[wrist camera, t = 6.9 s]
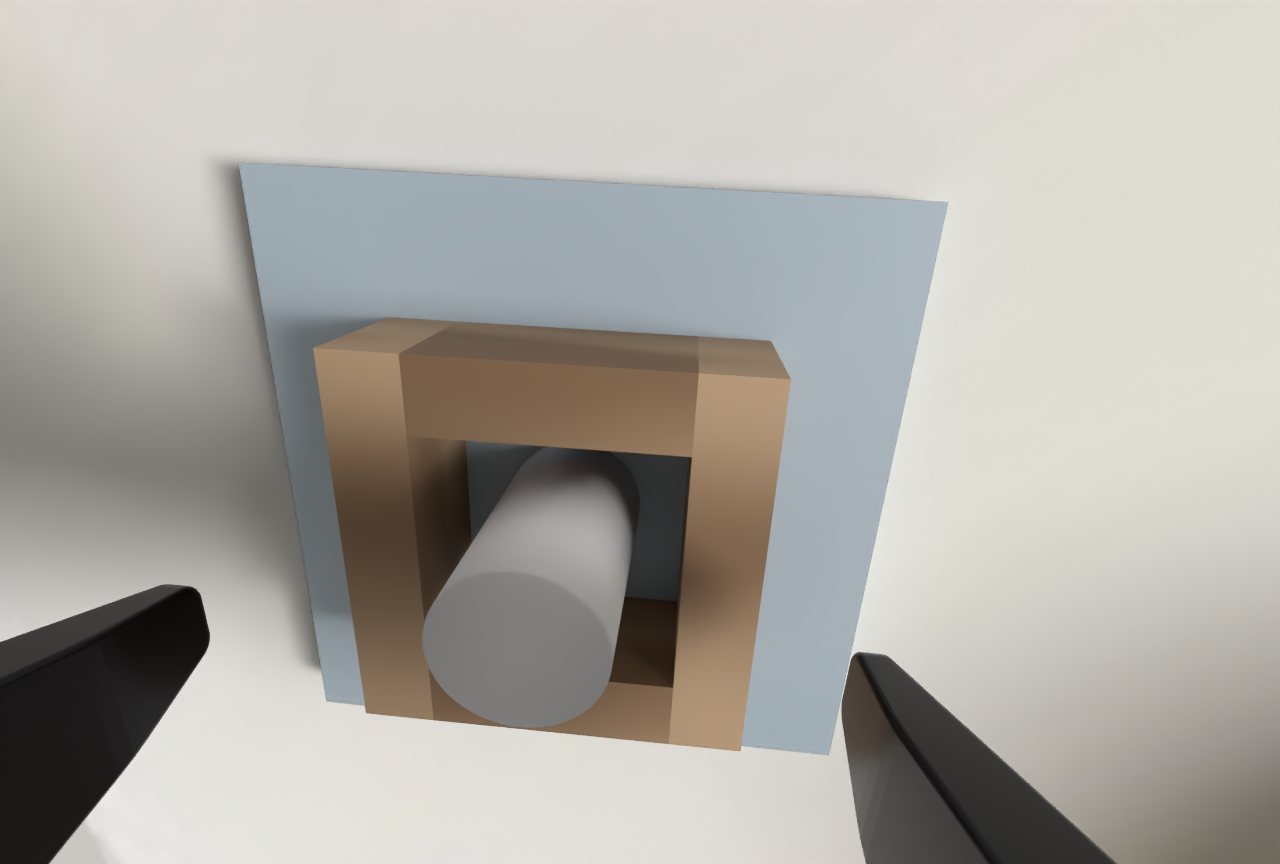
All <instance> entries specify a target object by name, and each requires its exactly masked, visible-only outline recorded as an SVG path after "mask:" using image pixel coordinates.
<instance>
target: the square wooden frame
mask: <svg viewBox="0 0 1280 864" xmlns="http://www.w3.org/2000/svg"><path fill="white" fill-rule="evenodd" d="M313 351H314V358H315V365H316V371H317V378H318V385H319V392H320V399H321V406H322V413H323V420H324V427H325V433H326V440H327V447H328V454H329V461H330V468H331V475H332V482H333V489H334V495H335V502H336V509H337V516H338V523H339V530H340V537H341V544H342V551H343V557H344V564H345V571H346V578H347V585H348V592H349V599H350V606H351V613H352V619H353V626H354V633H355V640H356V647H357V654H358V661H359V668H360V675H361V681H362V688H363V695H364V702H365V709H366V713H370V714H379V715H389V716H399V717H409V718H419V719H429V720H438V721H448V722H458V723H468V724H478V725H488V726H497V727H507V728H517V729H527V730H537V731H547V732H556V733H566V734H576V735H586V736H596V737H606V738H615V739H625V740H635V741H645V742H655V743H665V744H674V745H684V746H694V747H704V748H714V749H723V750H733V751H740V750H741V742H742V735H743V728H744V721H745V713H746V706H747V699H748V691H749V684H750V677H751V669H752V662H753V655H754V647H755V640H756V633H757V625H758V618H759V611H760V603H761V596H762V589H763V581H764V574H765V567H766V560H767V552H768V545H769V538H770V530H771V523H772V516H773V508H774V501H775V494H776V486H777V479H778V472H779V464H780V457H781V450H782V442H783V435H784V428H785V421H786V413H787V406H788V399H789V391H790V384H791V378H790V376H789V374H788V372H787V371H786V369H785V367H784V365H783V363H782V361H781V359H780V357H779V355H778V353H777V351H776V349H775V348H774V346H773V344H772V342H771V341H765V340H749V339H733V338H717V337H701V336H684V335H668V334H652V333H636V332H620V331H604V330H588V329H571V328H555V327H539V326H523V325H507V324H491V323H474V322H458V321H442V320H426V319H410V318H394V317H389V318H387V319H384V320H382V321H379V322H377V323H374V324H372V325H369V326H367V327H364V328H362V329H359V330H357V331H355V332H352V333H350V334H347V335H345V336H342V337H340V338H337V339H335V340H332V341H330V342H327V343H325V344H322V345H320V346H317V347H315V348H313ZM466 441H479V442H493V443H506V444H520V445H534V446H547V447H561V448H574V449H588V450H601V451H615V452H629V453H642V454H656V455H669V456H683V457H688V470H687V482H686V495H685V508H684V520H683V533H682V546H681V558H680V571H679V583H678V596H677V601H667V600H656V599H644V598H633V597H624V602H623V608H622V613H621V619H620V625H619V630H618V636H617V642H616V647H615V653H614V659H613V664H612V670H611V675H610V678H609V681H608V684H607V686H606V688H605V690H604V692H603V693H602V695H601V696H600V698H599V699H598V700H597V701H596V702H595V703H594V704H593V705H592V706H591V707H590V708H589V709H588V710H586V711H585V712H584V713H582V714H581V715H579V716H577V717H575V718H574V719H571V720H569V721H566V722H564V723H560V724H557V725H553V726H547V727H538V728H523V727H514V726H507V725H503V724H499V723H496V722H493V721H490V720H487V719H484V718H482V717H480V716H478V715H476V714H474V713H472V712H470V711H469V710H467V709H466V708H464V707H462V706H461V705H460V704H458V703H457V702H456V701H455V700H453V699H452V698H451V697H450V696H449V695H448V694H447V693H446V692H445V691H444V690H443V689H442V687H441V686H440V685H439V684H438V682H437V681H436V679H435V678H434V676H433V675H432V673H431V671H430V669H429V667H428V665H427V662H426V659H425V655H424V650H423V644H422V633H423V627H424V622H425V619H426V616H427V614H428V612H429V610H430V608H431V606H432V604H433V603H434V601H435V600H436V598H437V597H438V595H439V594H440V592H441V590H442V589H443V587H444V586H445V584H446V583H447V581H448V579H449V578H450V576H451V575H452V573H453V572H454V570H455V569H456V567H457V565H458V564H459V562H460V561H461V559H462V558H463V556H464V555H465V553H466V551H467V550H468V548H469V547H470V545H471V544H472V539H471V522H470V505H469V488H468V471H467V454H466Z"/></svg>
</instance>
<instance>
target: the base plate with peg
mask: <svg viewBox="0 0 1280 864" xmlns="http://www.w3.org/2000/svg"><path fill="white" fill-rule="evenodd" d="M239 168H240V175H241V181H242V187H243V193H244V199H245V205H246V211H247V217H248V224H249V230H250V236H251V242H252V248H253V254H254V260H255V266H256V273H257V279H258V285H259V291H260V297H261V303H262V309H263V315H264V322H265V328H266V334H267V340H268V346H269V352H270V358H271V364H272V371H273V377H274V383H275V389H276V395H277V401H278V407H279V413H280V420H281V426H282V432H283V438H284V444H285V450H286V456H287V462H288V469H289V475H290V481H291V487H292V493H293V499H294V505H295V511H296V518H297V524H298V530H299V536H300V542H301V548H302V554H303V560H304V567H305V573H306V579H307V585H308V591H309V597H310V603H311V609H312V616H313V622H314V628H315V634H316V640H317V646H318V652H319V658H320V665H321V671H322V677H323V683H324V689H325V695H326V701H328V702H337V703H347V704H356V705H365V702H364V695H363V688H362V681H361V675H360V668H359V661H358V654H357V647H356V640H355V633H354V626H353V619H352V613H351V606H350V599H349V592H348V585H347V578H346V571H345V564H344V557H343V551H342V544H341V537H340V530H339V523H338V516H337V509H336V502H335V495H334V489H333V482H332V475H331V468H330V461H329V454H328V447H327V440H326V433H325V427H324V420H323V413H322V406H321V399H320V392H319V385H318V378H317V371H316V365H315V358H314V351H313V348H315V347H317V346H320V345H322V344H325V343H327V342H330V341H332V340H335V339H337V338H340V337H342V336H345V335H347V334H350V333H352V332H355V331H357V330H359V329H362V328H364V327H367V326H369V325H372V324H374V323H377V322H379V321H382V320H384V319H387V318H389V317H394V318H410V319H426V320H442V321H458V322H474V323H491V324H507V325H523V326H539V327H555V328H571V329H588V330H604V331H620V332H636V333H652V334H668V335H684V336H701V337H717V338H733V339H749V340H765V341H771V342H772V344H773V346H774V348H775V349H776V351H777V353H778V355H779V357H780V359H781V361H782V363H783V365H784V367H785V369H786V371H787V372H788V374H789V376H790V378H791V384H790V391H789V399H788V406H787V413H786V421H785V428H784V435H783V442H782V450H781V457H780V464H779V472H778V479H777V486H776V494H775V501H774V508H773V516H772V523H771V530H770V538H769V545H768V552H767V560H766V567H765V574H764V581H763V589H762V596H761V603H760V611H759V618H758V625H757V633H756V640H755V647H754V655H753V662H752V669H751V677H750V684H749V691H748V699H747V706H746V713H745V721H744V728H743V735H742V742H741V746H747V747H757V748H766V749H775V750H785V751H794V752H803V753H813V754H822V755H829V752H830V747H831V743H832V738H833V733H834V729H835V724H836V720H837V715H838V710H839V706H840V701H841V696H842V692H843V687H844V683H845V678H846V673H847V669H848V664H849V659H850V655H851V650H852V645H853V641H854V636H855V632H856V627H857V622H858V618H859V613H860V608H861V604H862V599H863V595H864V590H865V585H866V581H867V576H868V571H869V567H870V562H871V558H872V553H873V548H874V544H875V539H876V534H877V530H878V525H879V521H880V516H881V511H882V507H883V502H884V497H885V493H886V488H887V484H888V479H889V474H890V470H891V465H892V460H893V456H894V451H895V446H896V442H897V437H898V433H899V428H900V423H901V419H902V414H903V409H904V405H905V400H906V396H907V391H908V386H909V382H910V377H911V372H912V368H913V363H914V359H915V354H916V349H917V345H918V340H919V335H920V331H921V326H922V322H923V317H924V312H925V308H926V303H927V298H928V294H929V289H930V285H931V280H932V275H933V271H934V266H935V261H936V257H937V252H938V247H939V243H940V238H941V234H942V229H943V224H944V220H945V215H946V210H947V206H948V202H937V201H920V200H902V199H884V198H866V197H848V196H831V195H813V194H795V193H777V192H759V191H742V190H724V189H706V188H688V187H670V186H653V185H635V184H617V183H599V182H581V181H563V180H546V179H528V178H510V177H492V176H474V175H457V174H439V173H421V172H403V171H385V170H368V169H350V168H332V167H314V166H296V165H279V164H261V163H243V162H239ZM466 454H467V471H468V488H469V505H470V522H471V539H472V544H471V545H470V547H469V548H468V550H467V551H466V553H465V555H464V556H463V558H462V559H461V561H460V562H459V564H458V565H457V567H456V569H455V570H454V572H453V573H452V575H451V576H450V578H449V579H448V581H447V583H446V584H445V586H444V587H443V589H442V590H441V592H440V594H439V595H438V597H437V598H436V600H435V601H434V603H433V604H432V606H431V608H430V610H429V612H428V614H427V616H426V619H425V622H424V627H423V633H422V644H423V650H424V655H425V659H426V662H427V665H428V667H429V669H430V671H431V673H432V675H433V676H434V678H435V679H436V681H437V682H438V684H439V685H440V686H441V687H442V689H443V690H444V691H445V692H446V693H447V694H448V695H449V696H450V697H451V698H452V699H453V700H455V701H456V702H457V703H458V704H460V705H461V706H462V707H464V708H466V709H467V710H469V711H470V712H472V713H474V714H476V715H478V716H480V717H482V718H484V719H487V720H490V721H493V722H496V723H499V724H503V725H507V726H514V727H523V728H538V727H547V726H553V725H557V724H560V723H564V722H566V721H569V720H571V719H574V718H575V717H577V716H579V715H581V714H582V713H584V712H585V711H586V710H588V709H589V708H590V707H591V706H592V705H593V704H594V703H595V702H596V701H597V700H598V699H599V698H600V696H601V695H602V693H603V692H604V690H605V688H606V686H607V684H608V681H609V678H610V675H611V670H612V664H613V659H614V653H615V647H616V642H617V636H618V630H619V625H620V619H621V613H622V608H623V602H624V597H633V598H644V599H656V600H667V601H677V596H678V583H679V571H680V558H681V546H682V533H683V520H684V508H685V495H686V482H687V470H688V457H683V456H669V455H656V454H642V453H629V452H615V451H601V450H588V449H574V448H561V447H547V446H534V445H520V444H506V443H493V442H479V441H466Z"/></svg>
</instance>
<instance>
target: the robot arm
mask: <svg viewBox="0 0 1280 864" xmlns="http://www.w3.org/2000/svg"><path fill="white" fill-rule="evenodd" d="M209 641H210V632H209V628H208V624H207V620H206V615H205V611H204V607H203V603H202V598H201V595H200V593H199V592H198V591H197V590H196V589H195V588H193V587H190V586H181V585H170V584H166V585H160V586H157V587H154V588H151V589H148V590H146V591H143V592H140V593H137V594H134V595H132V596H129V597H126V598H123V599H120V600H118V601H115V602H112V603H109V604H106V605H103V606H101V607H98V608H95V609H92V610H89V611H87V612H84V613H81V614H78V615H75V616H72V617H70V618H67V619H64V620H61V621H58V622H56V623H53V624H50V625H47V626H44V627H41V628H39V629H36V630H33V631H30V632H27V633H25V634H22V635H19V636H16V637H13V638H11V639H8V640H5V641H2V642H0V864H49V863H50V862H51V861H52V860H53V859H54V857H55V856H56V855H57V853H58V852H59V851H60V850H61V849H62V847H63V846H64V845H65V843H66V842H67V841H68V840H69V839H70V837H71V836H72V835H73V834H74V832H75V831H76V830H77V829H78V827H79V826H80V825H81V824H82V822H83V821H84V820H85V819H86V817H87V816H88V815H89V814H90V812H91V811H92V810H93V809H94V808H95V806H96V805H97V804H98V803H99V801H100V800H101V799H102V798H103V796H104V795H105V794H106V793H107V791H108V790H109V789H110V788H111V786H112V785H113V784H114V783H115V781H116V780H117V779H118V778H119V776H120V775H121V774H122V773H123V771H124V770H125V769H126V767H127V766H128V765H129V764H130V762H131V761H132V760H133V758H134V757H135V756H136V754H137V753H138V751H139V750H140V749H141V747H142V746H143V744H144V743H145V742H146V740H147V739H148V737H149V736H150V734H151V733H152V731H153V730H154V728H155V727H156V725H157V724H158V722H159V721H160V720H161V718H162V717H163V715H164V714H165V712H166V711H167V709H168V708H169V706H170V705H171V703H172V702H173V700H174V699H175V697H176V696H177V694H178V693H179V691H180V690H181V688H182V687H183V686H184V684H185V683H186V681H187V680H188V678H189V677H190V675H191V674H192V672H193V671H194V669H195V668H196V666H197V665H198V663H199V662H200V660H201V659H202V657H203V656H204V654H205V653H206V651H207V648H208V645H209ZM842 723H843V730H844V736H845V743H846V750H847V756H848V763H849V769H850V776H851V783H852V789H853V796H854V803H855V809H856V816H857V822H858V828H859V834H860V840H861V844H862V848H863V852H864V857H865V861H866V864H1117V863H1116V862H1115V861H1113V860H1112V859H1111V858H1110V857H1109V856H1108V855H1107V854H1106V853H1105V852H1104V851H1102V850H1101V849H1100V848H1099V847H1098V846H1097V845H1096V844H1095V843H1094V842H1093V841H1091V840H1090V839H1089V838H1088V837H1087V836H1086V835H1085V834H1084V833H1083V832H1081V831H1080V830H1079V829H1078V828H1077V827H1076V826H1075V825H1074V824H1073V823H1072V822H1070V821H1069V820H1068V819H1067V818H1066V817H1065V816H1064V815H1063V814H1062V813H1061V812H1059V811H1058V810H1057V809H1056V808H1055V807H1054V806H1053V805H1052V804H1051V803H1050V802H1048V801H1047V800H1046V799H1045V798H1044V797H1043V796H1042V795H1041V794H1040V793H1039V792H1037V791H1036V790H1035V789H1034V788H1033V787H1032V786H1031V785H1030V784H1029V783H1027V782H1026V781H1025V780H1024V779H1023V778H1022V777H1021V776H1020V775H1019V774H1018V773H1016V772H1015V771H1014V770H1013V769H1012V768H1011V767H1010V766H1009V765H1008V764H1007V763H1005V762H1004V761H1003V760H1002V759H1001V758H1000V757H999V756H998V755H997V754H996V753H994V752H993V751H992V750H991V749H990V748H989V747H988V746H987V745H986V744H985V743H983V742H982V741H981V740H980V739H979V738H978V737H977V736H976V735H975V734H973V733H972V732H971V731H970V730H969V729H968V728H967V727H966V726H965V725H964V724H962V723H961V722H960V721H959V720H958V719H957V718H956V717H955V716H954V715H953V714H951V713H950V712H949V711H948V710H947V709H946V708H945V707H944V706H943V705H942V704H940V703H939V702H938V701H937V700H936V699H935V698H934V697H933V696H932V695H931V694H929V693H928V692H927V691H926V690H925V689H924V688H923V687H922V686H921V685H920V684H918V683H917V682H916V681H915V680H914V679H913V678H912V677H911V676H910V675H908V674H907V673H906V672H905V671H904V670H903V669H902V668H901V667H900V666H899V665H897V664H896V663H895V662H894V661H893V660H892V659H891V658H889V657H888V656H886V655H883V654H874V653H864V652H858V653H856V654H854V655H853V657H852V659H851V662H850V666H849V671H848V676H847V680H846V685H845V689H844V694H843V699H842Z"/></svg>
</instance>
